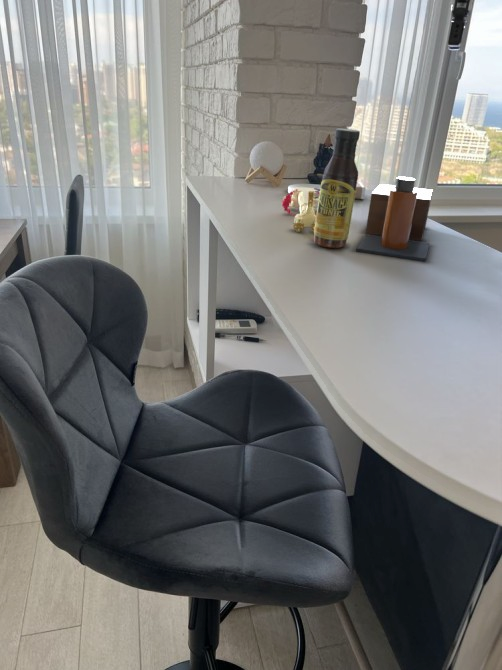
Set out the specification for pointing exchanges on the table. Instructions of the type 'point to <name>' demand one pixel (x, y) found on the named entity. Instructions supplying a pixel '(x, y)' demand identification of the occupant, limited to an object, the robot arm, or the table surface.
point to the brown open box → (380, 205)
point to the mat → (412, 251)
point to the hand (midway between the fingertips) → (453, 47)
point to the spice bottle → (399, 214)
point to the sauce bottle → (337, 192)
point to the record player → (359, 188)
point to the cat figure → (302, 206)
